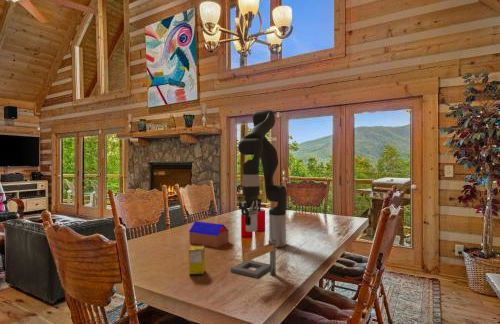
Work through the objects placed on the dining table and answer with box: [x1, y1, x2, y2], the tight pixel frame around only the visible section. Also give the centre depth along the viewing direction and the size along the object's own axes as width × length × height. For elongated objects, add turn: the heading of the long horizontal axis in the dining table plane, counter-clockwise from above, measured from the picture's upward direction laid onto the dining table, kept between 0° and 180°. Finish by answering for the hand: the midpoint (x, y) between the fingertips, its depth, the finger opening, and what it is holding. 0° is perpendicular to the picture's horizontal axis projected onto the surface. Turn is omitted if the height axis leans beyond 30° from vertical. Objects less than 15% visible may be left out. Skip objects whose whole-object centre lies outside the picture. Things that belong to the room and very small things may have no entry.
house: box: [188, 220, 230, 248], centre depth 180 cm, size 12×20×12 cm, turn 61°
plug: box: [245, 209, 258, 233], centre depth 136 cm, size 5×5×9 cm
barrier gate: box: [243, 239, 277, 276], centre depth 124 cm, size 4×19×14 cm, turn 140°
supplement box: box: [188, 245, 206, 276], centre depth 133 cm, size 6×6×11 cm
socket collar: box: [230, 260, 270, 279], centre depth 136 cm, size 13×13×2 cm
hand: (251, 223), depth 136 cm, fingers closed on plug, 5 cm apart
